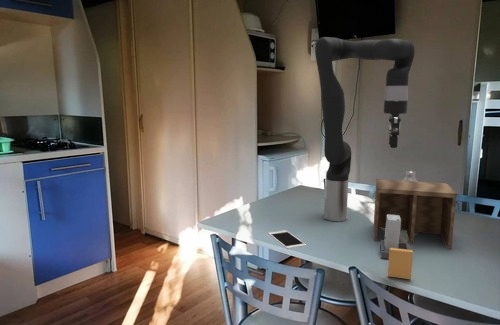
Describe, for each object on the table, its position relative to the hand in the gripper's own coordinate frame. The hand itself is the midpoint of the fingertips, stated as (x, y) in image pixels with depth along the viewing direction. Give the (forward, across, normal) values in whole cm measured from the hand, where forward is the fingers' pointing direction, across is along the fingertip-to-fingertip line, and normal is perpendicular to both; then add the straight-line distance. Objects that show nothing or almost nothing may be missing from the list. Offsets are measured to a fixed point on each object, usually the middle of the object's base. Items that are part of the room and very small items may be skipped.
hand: (392, 146), depth 129 cm
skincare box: (+34, +12, +1) cm, 37 cm away
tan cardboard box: (+34, +20, +2) cm, 40 cm away
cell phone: (+35, +12, -35) cm, 51 cm away
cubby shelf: (+34, -4, +8) cm, 35 cm away
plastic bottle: (+34, -32, +10) cm, 48 cm away
